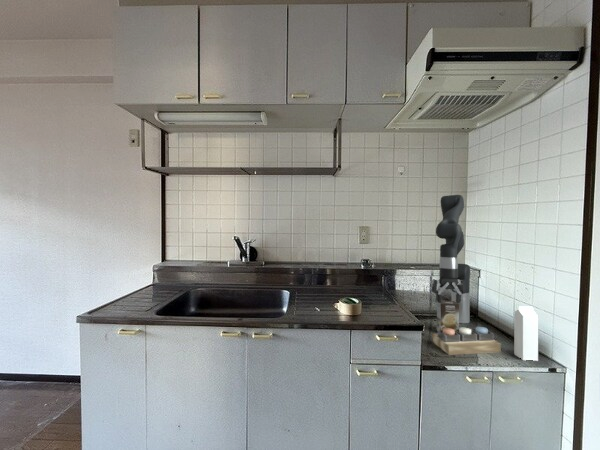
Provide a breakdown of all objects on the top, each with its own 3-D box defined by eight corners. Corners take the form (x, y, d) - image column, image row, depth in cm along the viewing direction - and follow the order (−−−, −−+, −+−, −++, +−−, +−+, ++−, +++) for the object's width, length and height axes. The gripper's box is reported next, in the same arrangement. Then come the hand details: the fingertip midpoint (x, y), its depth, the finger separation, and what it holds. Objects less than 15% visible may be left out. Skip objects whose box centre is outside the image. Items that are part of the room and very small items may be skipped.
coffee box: (440, 334, 155) (440, 303, 155) (436, 329, 161) (436, 300, 161) (459, 334, 154) (459, 303, 154) (454, 330, 160) (454, 300, 160)
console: (432, 341, 146) (432, 327, 146) (479, 339, 147) (479, 325, 147) (448, 354, 132) (448, 338, 132) (500, 352, 133) (500, 336, 133)
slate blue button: (473, 332, 142) (473, 326, 142) (483, 331, 143) (483, 326, 143) (480, 336, 137) (480, 330, 137) (490, 335, 138) (490, 330, 138)
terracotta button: (440, 333, 141) (440, 328, 141) (450, 332, 142) (450, 327, 142) (446, 337, 136) (446, 332, 136) (456, 337, 137) (456, 331, 137)
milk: (514, 354, 132) (513, 304, 131) (528, 354, 131) (528, 304, 131) (523, 360, 126) (522, 308, 125) (538, 361, 125) (538, 308, 125)
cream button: (456, 332, 142) (456, 327, 142) (467, 332, 142) (466, 327, 142) (463, 336, 137) (463, 331, 137) (473, 336, 137) (473, 331, 137)
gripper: (459, 266, 141) (459, 301, 141) (429, 265, 141) (429, 300, 141) (468, 268, 133) (468, 305, 133) (436, 267, 134) (436, 304, 133)
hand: (448, 302), depth 137 cm, fingers open, 8 cm apart
